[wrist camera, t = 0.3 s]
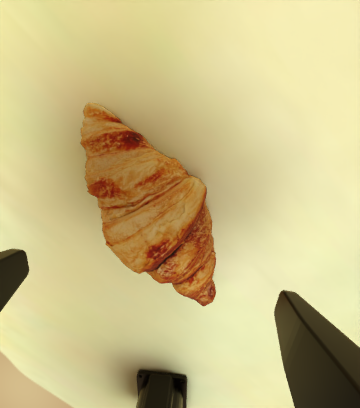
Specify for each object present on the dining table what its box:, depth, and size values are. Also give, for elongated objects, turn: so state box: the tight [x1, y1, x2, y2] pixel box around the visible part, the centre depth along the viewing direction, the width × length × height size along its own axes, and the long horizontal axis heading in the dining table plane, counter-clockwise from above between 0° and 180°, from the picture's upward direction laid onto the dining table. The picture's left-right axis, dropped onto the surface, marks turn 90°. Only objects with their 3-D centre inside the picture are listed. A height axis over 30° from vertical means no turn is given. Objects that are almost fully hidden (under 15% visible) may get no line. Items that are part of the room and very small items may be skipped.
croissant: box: [81, 103, 216, 306], centre depth 20 cm, size 21×10×8 cm, turn 32°
